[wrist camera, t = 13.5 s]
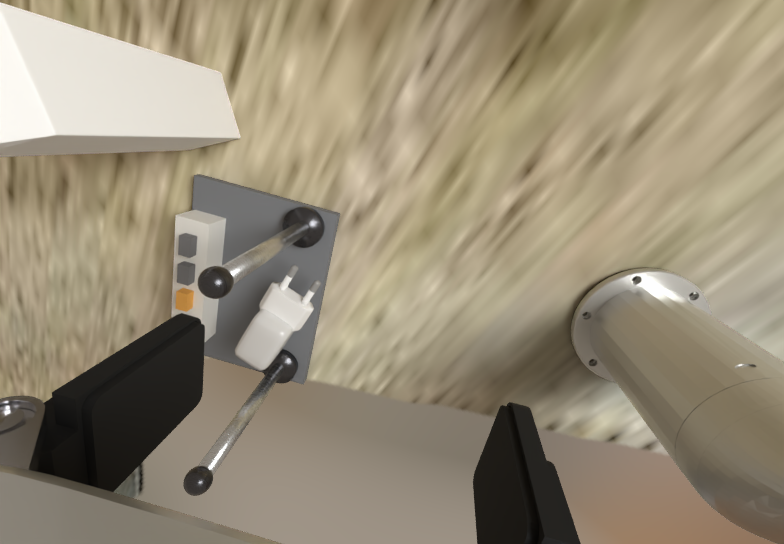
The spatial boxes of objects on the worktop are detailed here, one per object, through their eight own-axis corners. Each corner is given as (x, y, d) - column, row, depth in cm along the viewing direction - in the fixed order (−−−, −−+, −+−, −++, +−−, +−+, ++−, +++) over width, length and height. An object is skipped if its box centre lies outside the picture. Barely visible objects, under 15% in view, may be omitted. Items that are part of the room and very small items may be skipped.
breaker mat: (340, 213, 38) (326, 223, 33) (306, 379, 45) (290, 406, 40) (200, 174, 38) (166, 178, 33) (189, 345, 45) (160, 368, 41)
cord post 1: (327, 212, 37) (242, 266, 21) (320, 249, 38) (235, 327, 22) (289, 201, 37) (175, 247, 21) (283, 239, 38) (172, 309, 22)
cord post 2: (300, 354, 43) (217, 480, 27) (295, 382, 44) (213, 517, 28) (267, 344, 43) (165, 464, 27) (263, 372, 44) (164, 502, 28)
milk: (221, 71, 35) (-98, -35, 14) (242, 139, 36) (-14, 133, 16) (165, 87, 36) (-211, 8, 15) (187, 152, 38) (-120, 161, 17)
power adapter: (298, 249, 38) (275, 267, 33) (337, 275, 39) (320, 297, 33) (252, 325, 42) (224, 353, 37) (288, 348, 43) (265, 379, 37)
